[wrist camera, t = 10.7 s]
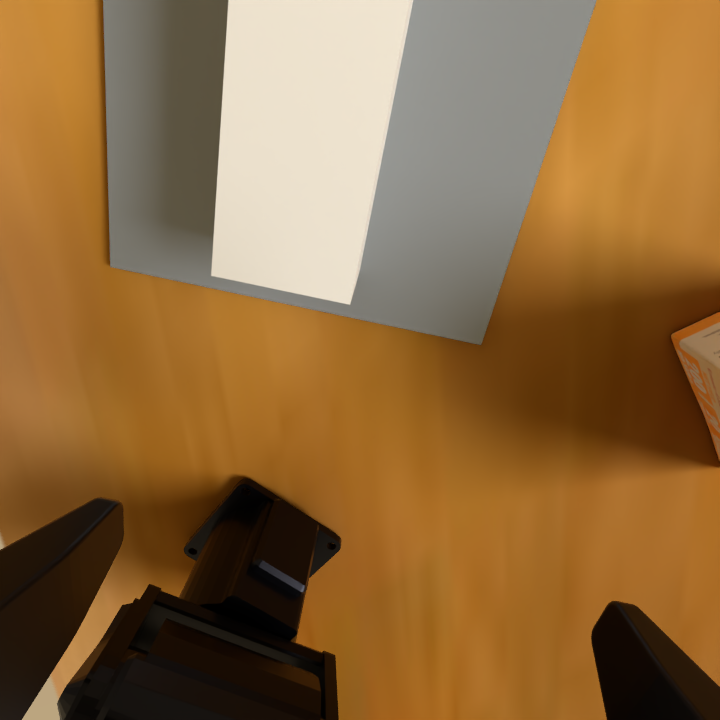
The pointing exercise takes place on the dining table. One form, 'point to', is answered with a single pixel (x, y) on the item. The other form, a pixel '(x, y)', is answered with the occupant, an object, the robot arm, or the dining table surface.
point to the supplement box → (703, 368)
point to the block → (303, 139)
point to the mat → (399, 161)
